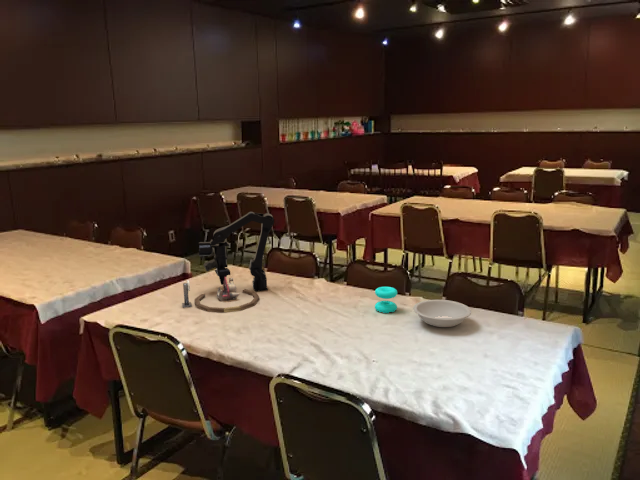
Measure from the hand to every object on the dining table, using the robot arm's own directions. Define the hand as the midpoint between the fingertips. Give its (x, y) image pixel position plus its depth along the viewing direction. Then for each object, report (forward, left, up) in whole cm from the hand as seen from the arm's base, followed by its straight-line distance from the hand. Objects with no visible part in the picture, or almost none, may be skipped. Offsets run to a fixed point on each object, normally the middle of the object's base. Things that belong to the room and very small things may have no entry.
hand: (222, 284), depth 276 cm
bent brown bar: (0, +17, -4) cm, 17 cm away
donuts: (-66, +53, -4) cm, 85 cm away
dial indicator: (+19, +15, -4) cm, 25 cm away
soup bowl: (-81, +76, -4) cm, 111 cm away
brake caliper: (-1, +11, -4) cm, 12 cm away
